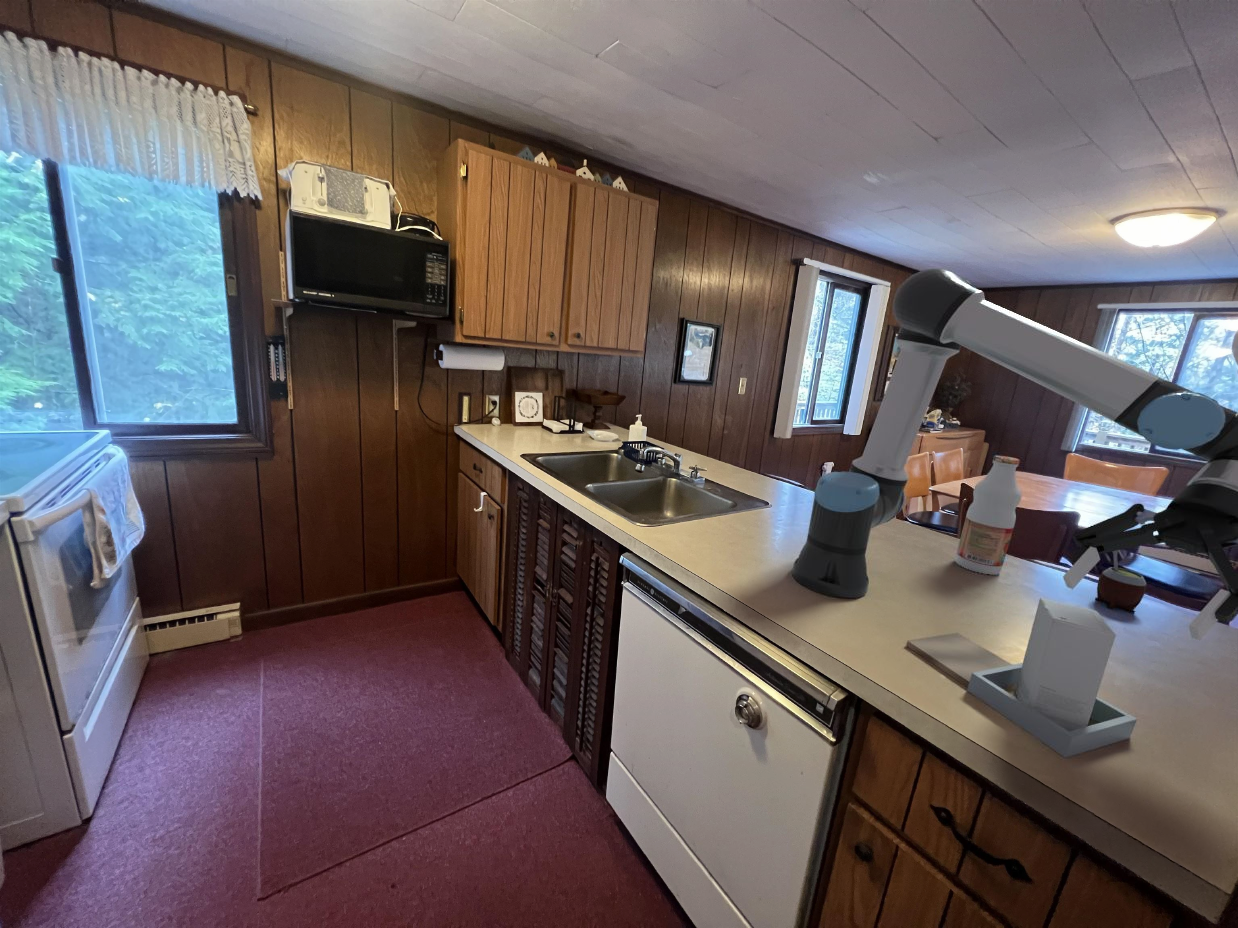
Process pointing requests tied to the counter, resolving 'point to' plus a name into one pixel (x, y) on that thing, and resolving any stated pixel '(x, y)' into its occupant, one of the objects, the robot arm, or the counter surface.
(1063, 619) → the skincare box
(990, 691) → the bin
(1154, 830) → the counter surface
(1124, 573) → the mate gourd
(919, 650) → the coaster
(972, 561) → the fruit juice
